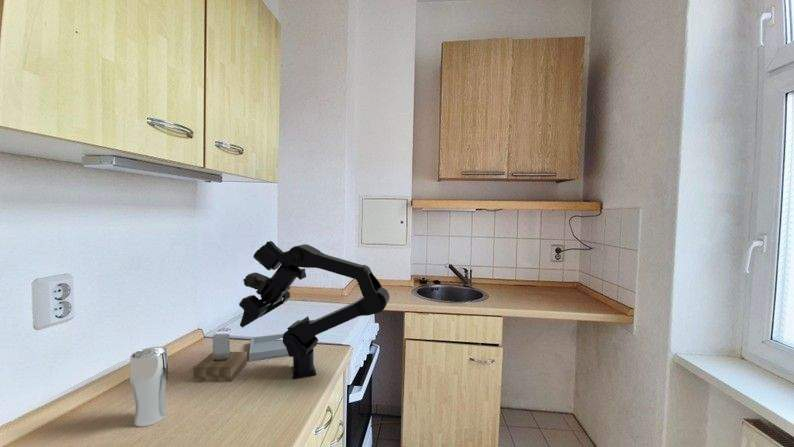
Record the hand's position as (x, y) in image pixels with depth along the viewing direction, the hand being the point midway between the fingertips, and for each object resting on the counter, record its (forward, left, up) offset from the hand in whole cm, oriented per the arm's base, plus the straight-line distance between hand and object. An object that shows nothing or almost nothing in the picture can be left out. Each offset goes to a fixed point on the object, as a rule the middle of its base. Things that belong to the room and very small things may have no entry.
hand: (250, 321), depth 98 cm
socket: (0, +8, -14) cm, 16 cm away
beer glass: (-18, +20, -14) cm, 30 cm away
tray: (+12, -6, -14) cm, 20 cm away
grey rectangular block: (0, +8, -14) cm, 16 cm away
